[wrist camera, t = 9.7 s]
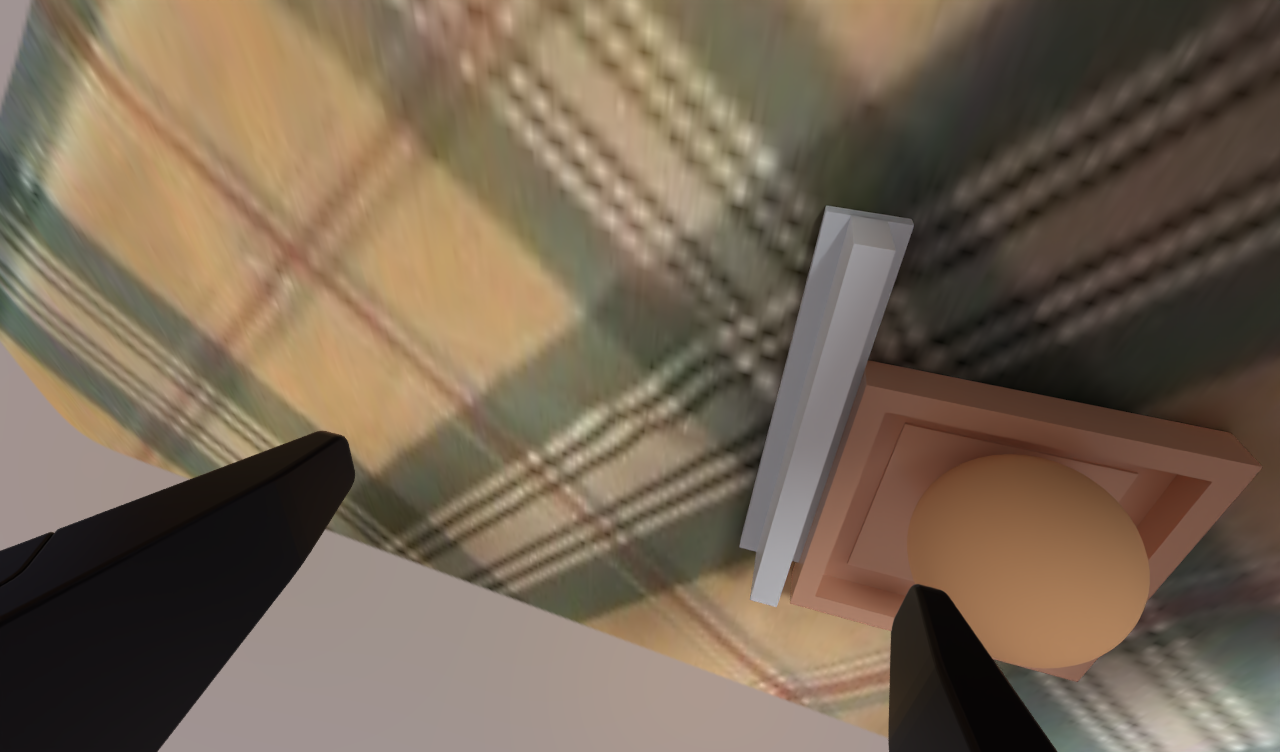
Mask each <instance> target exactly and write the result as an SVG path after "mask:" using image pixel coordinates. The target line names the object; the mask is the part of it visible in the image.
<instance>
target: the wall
mask: <svg viewBox="0 0 1280 752" xmlns="http://www.w3.org/2000/svg"><path fill="white" fill-rule="evenodd" d="M913 227H914V224H913V221H912V219H909V218H903V217H896V216H890V215H884V214H877V213H871V212H865V211H859V210H852V209H846V208H840V207H834V206H827V205H826V207H825V211H824V215H823V219H822V223H821V226H820V230H819V234H818V238H817V242H816V246H815V250H814V254H813V258H812V262H811V266H810V269H809V273H808V277H807V281H806V285H805V289H804V293H803V297H802V301H801V305H800V308H799V312H798V316H797V320H796V324H795V328H794V332H793V336H792V340H791V344H790V348H789V351H788V355H787V359H786V363H785V367H784V371H783V375H782V379H781V383H780V387H779V390H778V394H777V398H776V402H775V406H774V410H773V414H772V418H771V422H770V426H769V429H768V433H767V437H766V441H765V445H764V449H763V453H762V457H761V461H760V465H759V469H758V472H757V476H756V480H755V484H754V488H753V492H752V496H751V500H750V504H749V508H748V511H747V515H746V519H745V523H744V527H743V531H742V535H741V540H740V546H739V547H740V548H744V549H748V550H752V551H755V552H756V558H755V565H754V573H753V580H752V588H751V595H750V600H753V601H756V602H760V603H763V604H767V605H771V606H774V607H777V605H778V602H779V599H780V596H781V593H782V590H783V587H784V584H785V581H786V578H787V575H788V572H789V569H790V566H791V563H792V561H794V562H797V563H798V562H799V559H800V557H801V554H802V551H803V548H804V545H805V542H806V539H807V536H808V533H809V530H810V527H811V525H812V522H813V519H814V516H815V513H816V510H817V507H818V504H819V501H820V498H821V495H822V492H823V490H824V487H825V484H826V481H827V478H828V475H829V472H830V469H831V466H832V463H833V460H834V458H835V455H836V452H837V449H838V446H839V443H840V440H841V437H842V434H843V431H844V428H845V425H846V423H847V420H848V417H849V414H850V411H851V408H852V405H853V402H854V399H855V396H856V393H857V391H858V388H859V385H860V382H861V379H862V376H863V373H864V370H865V367H866V364H867V361H868V358H869V356H870V353H871V350H872V347H873V344H874V341H875V338H876V335H877V332H878V329H879V326H880V324H881V321H882V318H883V315H884V312H885V309H886V306H887V303H888V300H889V297H890V294H891V291H892V289H893V286H894V283H895V280H896V277H897V274H898V271H899V268H900V265H901V262H902V259H903V256H904V254H905V251H906V248H907V245H908V242H909V239H910V236H911V233H912V230H913Z"/></svg>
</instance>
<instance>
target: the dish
mask: <svg viewBox="0 0 1280 752" xmlns="http://www.w3.org/2000/svg"><path fill="white" fill-rule="evenodd" d="M1001 454H1016V455H1028V456H1034V457H1040V458H1044V459H1047V460H1051V461H1054V462H1057V463H1060V464H1062V465H1065V466H1067V467H1070V468H1072V469H1074V470H1076V471H1078V472H1080V473H1082V474H1083V475H1085V476H1087V477H1088V478H1090V479H1091V480H1093V481H1094V482H1096V483H1097V484H1098V485H1100V486H1101V487H1102V488H1104V489H1105V490H1106V491H1107V492H1108V493H1109V494H1110V495H1111V496H1112V497H1114V498H1115V499H1116V501H1117V502H1118V503H1119V504H1120V505H1121V507H1122V508H1123V509H1124V510H1125V511H1126V513H1127V514H1128V515H1129V516H1130V518H1131V520H1132V521H1133V523H1134V524H1135V526H1136V528H1137V530H1138V532H1139V534H1140V536H1141V538H1142V541H1143V544H1144V547H1145V550H1146V554H1147V557H1148V563H1149V569H1150V586H1149V593H1148V598H1147V601H1148V600H1149V599H1150V597H1151V596H1152V595H1153V594H1154V593H1155V592H1156V590H1157V589H1158V588H1159V587H1160V586H1161V585H1162V584H1163V582H1164V581H1165V580H1166V579H1167V578H1168V577H1169V575H1170V574H1171V573H1172V572H1173V571H1174V570H1175V568H1176V567H1177V566H1178V565H1179V564H1180V563H1181V561H1182V560H1183V559H1184V558H1185V557H1186V556H1187V555H1188V553H1189V552H1190V551H1191V550H1192V549H1193V548H1194V546H1195V545H1196V544H1197V543H1198V542H1199V541H1200V539H1201V538H1202V537H1203V536H1204V535H1205V534H1206V533H1207V531H1208V530H1209V529H1210V528H1211V527H1212V526H1213V524H1214V523H1215V522H1216V521H1217V520H1218V519H1219V517H1220V516H1221V515H1222V514H1223V513H1224V512H1225V510H1226V509H1227V508H1228V507H1229V506H1230V505H1231V504H1232V502H1233V501H1234V500H1235V499H1236V498H1237V497H1238V495H1239V494H1240V493H1241V492H1242V491H1243V490H1244V488H1245V487H1246V486H1247V485H1248V484H1249V483H1250V482H1251V480H1252V479H1253V478H1254V477H1255V476H1256V475H1257V473H1258V472H1259V471H1260V470H1261V469H1262V468H1263V467H1262V466H1261V465H1260V464H1259V463H1258V461H1257V460H1256V459H1255V458H1254V457H1253V456H1252V455H1251V454H1250V453H1249V452H1248V451H1247V450H1246V449H1245V447H1244V446H1243V445H1242V444H1241V443H1240V442H1239V441H1238V440H1237V439H1236V438H1235V437H1234V436H1233V434H1232V433H1229V432H1224V431H1219V430H1214V429H1209V428H1204V427H1199V426H1194V425H1189V424H1184V423H1179V422H1174V421H1169V420H1164V419H1159V418H1154V417H1149V416H1144V415H1139V414H1134V413H1129V412H1124V411H1119V410H1114V409H1109V408H1104V407H1099V406H1094V405H1089V404H1084V403H1079V402H1074V401H1069V400H1064V399H1059V398H1054V397H1049V396H1044V395H1039V394H1034V393H1029V392H1024V391H1019V390H1014V389H1009V388H1004V387H999V386H994V385H989V384H984V383H979V382H974V381H969V380H964V379H959V378H955V377H950V376H945V375H940V374H935V373H930V372H925V371H920V370H915V369H910V368H905V367H900V366H895V365H890V364H885V363H880V362H875V361H870V360H868V361H867V364H866V367H865V370H864V373H863V376H862V379H861V382H860V385H859V388H858V391H857V393H856V396H855V399H854V402H853V405H852V408H851V411H850V414H849V417H848V420H847V423H846V425H845V428H844V431H843V434H842V437H841V440H840V443H839V446H838V449H837V452H836V455H835V458H834V460H833V463H832V466H831V469H830V472H829V475H828V478H827V481H826V484H825V487H824V490H823V492H822V495H821V498H820V501H819V504H818V507H817V510H816V513H815V516H814V519H813V522H812V525H811V527H810V530H809V533H808V536H807V539H806V542H805V545H804V548H803V551H802V554H801V557H800V559H799V562H798V563H797V562H795V565H794V568H793V571H792V580H791V595H790V604H794V605H798V606H801V607H805V608H809V609H812V610H816V611H820V612H823V613H827V614H831V615H834V616H838V617H841V618H845V619H849V620H852V621H856V622H860V623H863V624H867V625H871V626H874V627H878V628H882V629H885V630H889V631H891V630H892V625H893V621H894V618H895V616H896V614H897V612H898V610H899V608H900V606H901V604H902V602H903V600H904V598H905V596H906V594H907V592H908V590H909V589H910V587H911V586H913V585H914V584H915V582H914V580H913V577H912V573H911V570H910V566H909V561H908V553H907V535H908V529H909V524H910V520H911V517H912V514H913V512H914V509H915V507H916V505H917V503H918V501H919V500H920V498H921V497H922V495H923V494H924V492H925V491H926V490H927V489H928V488H929V487H930V485H931V484H932V483H933V482H935V481H936V480H937V479H938V478H939V477H940V476H941V475H943V474H944V473H946V472H947V471H949V470H950V469H952V468H954V467H956V466H958V465H960V464H962V463H965V462H968V461H971V460H974V459H977V458H981V457H986V456H991V455H1001ZM1147 601H1146V602H1147ZM1098 658H1099V657H1098ZM1098 658H1096V659H1094V660H1091V661H1089V662H1085V663H1082V664H1079V665H1074V666H1068V667H1061V668H1032V667H1025V666H1021V667H1024V668H1028V669H1032V670H1035V671H1039V672H1043V673H1046V674H1050V675H1054V676H1057V677H1061V678H1064V679H1068V680H1072V681H1075V682H1078V681H1079V680H1080V679H1081V677H1082V676H1083V675H1084V674H1085V673H1086V672H1087V670H1088V669H1089V668H1090V667H1091V666H1092V665H1093V663H1094V662H1095V661H1096V660H1097V659H1098ZM992 659H995V658H992ZM995 660H998V659H995ZM999 661H1001V660H999ZM1002 662H1004V661H1002ZM1006 663H1007V662H1006ZM1010 664H1011V663H1010ZM1013 665H1016V664H1013ZM1017 666H1020V665H1017Z"/></svg>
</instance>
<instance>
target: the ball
mask: <svg viewBox="0 0 1280 752" xmlns="http://www.w3.org/2000/svg"><path fill="white" fill-rule="evenodd" d="M907 553H908V561H909V566H910V570H911V573H912V577H913V580H914V582H915V584H920V585H924V586H928V587H932V588H936V589H940V590H942V591H944V592H945V593H946V594H947V595H948V596H949V597H950V598H951V600H952V601H953V603H954V604H955V606H956V607H957V608H958V610H959V611H960V613H961V614H962V616H963V617H964V618H965V620H966V621H967V623H968V624H969V626H970V627H971V629H972V630H973V631H974V633H975V634H976V636H977V637H978V639H979V640H980V641H981V643H982V644H983V646H984V647H985V649H986V650H987V651H988V653H989V654H990V656H991V657H992V658H995V659H998V660H1001V661H1004V662H1007V663H1011V664H1016V665H1020V666H1025V667H1032V668H1061V667H1068V666H1074V665H1079V664H1082V663H1085V662H1089V661H1091V660H1094V659H1096V658H1098V657H1100V656H1102V655H1104V654H1106V653H1107V652H1109V651H1110V650H1112V649H1113V648H1115V647H1116V646H1117V645H1118V644H1120V643H1121V642H1122V641H1123V640H1124V639H1125V638H1126V637H1127V636H1128V635H1129V633H1130V632H1131V631H1132V630H1133V628H1134V627H1135V625H1136V624H1137V622H1138V621H1139V619H1140V617H1141V615H1142V613H1143V611H1144V608H1145V605H1146V601H1147V598H1148V593H1149V586H1150V569H1149V563H1148V557H1147V554H1146V550H1145V547H1144V544H1143V541H1142V538H1141V536H1140V534H1139V532H1138V530H1137V528H1136V526H1135V524H1134V523H1133V521H1132V520H1131V518H1130V516H1129V515H1128V514H1127V513H1126V511H1125V510H1124V509H1123V508H1122V507H1121V505H1120V504H1119V503H1118V502H1117V501H1116V499H1115V498H1114V497H1112V496H1111V495H1110V494H1109V493H1108V492H1107V491H1106V490H1105V489H1104V488H1102V487H1101V486H1100V485H1098V484H1097V483H1096V482H1094V481H1093V480H1091V479H1090V478H1088V477H1087V476H1085V475H1083V474H1082V473H1080V472H1078V471H1076V470H1074V469H1072V468H1070V467H1067V466H1065V465H1062V464H1060V463H1057V462H1054V461H1051V460H1047V459H1044V458H1040V457H1034V456H1028V455H1016V454H1001V455H991V456H986V457H981V458H977V459H974V460H971V461H968V462H965V463H962V464H960V465H958V466H956V467H954V468H952V469H950V470H949V471H947V472H946V473H944V474H943V475H941V476H940V477H939V478H938V479H937V480H936V481H935V482H933V483H932V484H931V485H930V487H929V488H928V489H927V490H926V491H925V492H924V494H923V495H922V497H921V498H920V500H919V501H918V503H917V505H916V507H915V509H914V512H913V514H912V517H911V520H910V524H909V529H908V535H907Z"/></svg>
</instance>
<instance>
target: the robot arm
mask: <svg viewBox="0 0 1280 752" xmlns="http://www.w3.org/2000/svg"><path fill="white" fill-rule="evenodd" d="M354 478H355V469H354V465H353V461H352V457H351V452H350V448H349V444H348V441H347V439H346V438H345V437H344V436H342V435H339V434H335V433H331V432H327V431H318V432H314V433H312V434H309V435H307V436H304V437H301V438H299V439H296V440H293V441H291V442H288V443H285V444H283V445H280V446H277V447H275V448H272V449H269V450H267V451H264V452H262V453H259V454H256V455H254V456H251V457H248V458H246V459H243V460H240V461H238V462H235V463H232V464H230V465H227V466H224V467H222V468H219V469H216V470H214V471H211V472H208V473H206V474H203V475H201V476H198V477H195V478H193V479H190V480H187V481H185V482H182V483H179V484H177V485H174V486H171V487H169V488H166V489H163V490H161V491H158V492H155V493H153V494H150V495H148V496H145V497H142V498H140V499H137V500H135V501H132V502H129V503H126V504H124V505H121V506H118V507H116V508H113V509H110V510H108V511H105V512H102V513H100V514H97V515H95V516H92V517H89V518H87V519H84V520H81V521H79V522H76V523H73V524H71V525H68V526H65V527H63V528H60V529H58V530H57V531H56V532H55V533H53V532H49V533H46V534H44V535H41V536H39V537H36V538H34V539H31V540H28V541H25V542H23V543H20V544H18V545H15V546H12V547H10V548H7V549H4V550H1V551H0V752H158V750H159V749H160V748H161V746H162V745H163V744H164V743H165V741H166V740H167V739H168V737H169V736H170V735H171V734H172V732H173V731H174V730H175V729H176V727H177V726H178V725H179V723H180V722H181V721H182V719H183V718H184V717H185V716H186V714H187V713H188V712H189V710H190V709H191V708H192V706H193V705H194V704H195V703H196V701H197V700H198V699H199V697H200V696H201V695H202V694H203V692H204V691H205V690H206V688H207V687H208V686H209V685H210V683H211V682H212V681H213V680H214V678H215V677H216V675H217V674H218V673H219V672H220V671H221V669H222V668H223V667H224V665H225V664H226V663H227V661H228V660H229V659H230V658H231V656H232V655H233V654H234V652H235V651H236V650H237V648H238V647H239V646H240V645H241V643H242V642H243V641H244V639H245V638H246V637H247V635H248V634H249V633H250V632H251V631H252V629H253V628H254V627H255V625H256V624H257V623H258V622H259V620H260V619H261V618H262V616H263V615H264V614H265V612H266V611H267V610H268V608H269V607H270V606H271V605H272V603H273V602H274V601H275V599H276V598H277V597H278V596H279V594H280V593H281V592H282V590H283V589H284V588H285V587H286V585H287V584H288V583H289V582H290V580H291V579H292V578H293V576H294V575H295V574H296V572H297V571H298V570H299V568H300V567H301V565H302V564H303V563H304V561H305V560H306V558H307V556H308V555H309V554H310V552H311V551H312V549H313V547H314V546H315V544H316V543H317V541H318V540H319V538H320V536H321V535H322V533H323V532H324V530H325V528H326V527H327V525H328V524H329V522H330V521H331V519H332V517H333V516H334V514H335V513H336V511H337V509H338V508H339V506H340V505H341V503H342V501H343V500H344V498H345V497H346V495H347V494H348V492H349V490H350V489H351V487H352V485H353V482H354ZM889 752H1057V750H1056V749H1055V747H1054V746H1053V745H1052V743H1051V742H1050V740H1049V739H1048V737H1047V736H1046V735H1045V733H1044V732H1043V730H1042V729H1041V727H1040V726H1039V725H1038V723H1037V722H1036V720H1035V719H1034V717H1033V716H1032V714H1031V713H1030V712H1029V710H1028V709H1027V707H1026V706H1025V704H1024V703H1023V702H1022V700H1021V699H1020V697H1019V696H1018V694H1017V693H1016V692H1015V690H1014V689H1013V687H1012V686H1011V684H1010V683H1009V682H1008V680H1007V679H1006V677H1005V676H1004V674H1003V673H1002V671H1001V670H1000V669H999V667H998V666H997V664H996V663H995V661H994V660H993V659H992V657H991V656H990V654H989V653H988V651H987V650H986V649H985V647H984V646H983V644H982V643H981V641H980V640H979V639H978V637H977V636H976V634H975V633H974V631H973V630H972V629H971V627H970V626H969V624H968V623H967V621H966V620H965V618H964V617H963V616H962V614H961V613H960V611H959V610H958V608H957V607H956V606H955V604H954V603H953V601H952V600H951V598H950V597H949V596H948V595H947V594H946V593H945V592H944V591H942V590H940V589H936V588H932V587H928V586H924V585H920V584H914V585H913V586H911V587H910V589H909V590H908V592H907V594H906V596H905V598H904V600H903V602H902V604H901V606H900V608H899V610H898V612H897V614H896V616H895V618H894V621H893V625H892V630H891V654H890V692H889Z"/></svg>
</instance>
